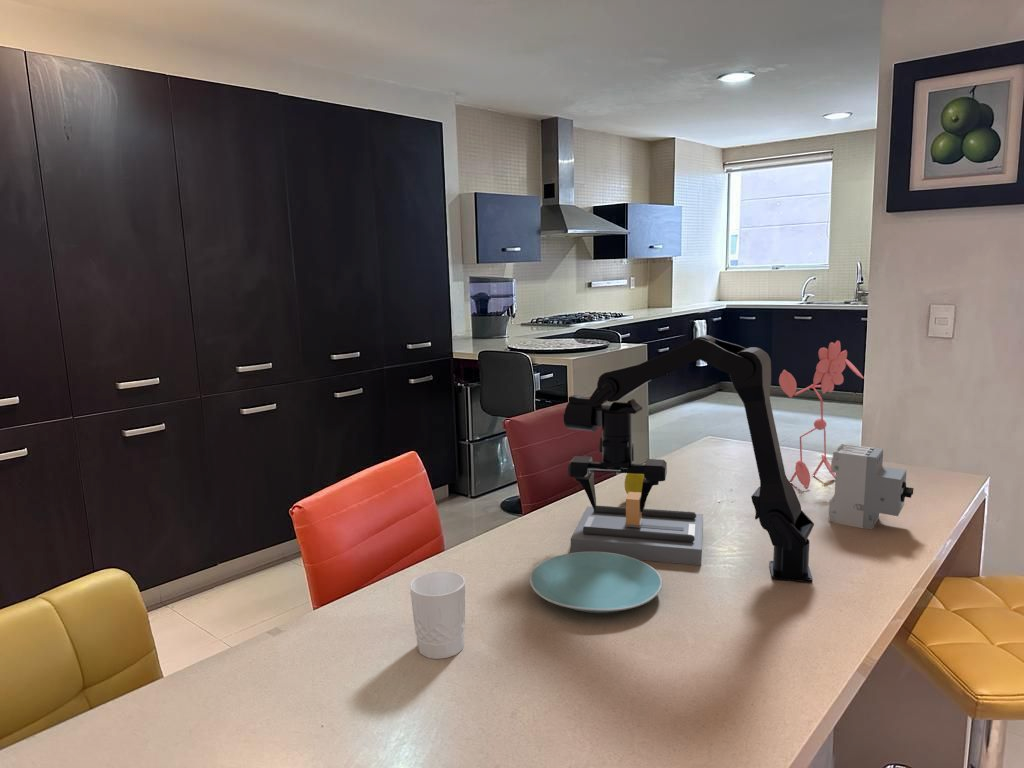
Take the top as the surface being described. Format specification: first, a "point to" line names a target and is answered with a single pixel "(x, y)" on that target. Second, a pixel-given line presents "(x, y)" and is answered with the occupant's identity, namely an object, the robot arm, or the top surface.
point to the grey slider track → (642, 533)
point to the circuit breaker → (865, 487)
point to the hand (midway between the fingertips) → (617, 509)
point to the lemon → (634, 482)
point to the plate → (595, 581)
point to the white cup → (439, 613)
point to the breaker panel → (638, 546)
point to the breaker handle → (633, 510)
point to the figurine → (828, 376)
